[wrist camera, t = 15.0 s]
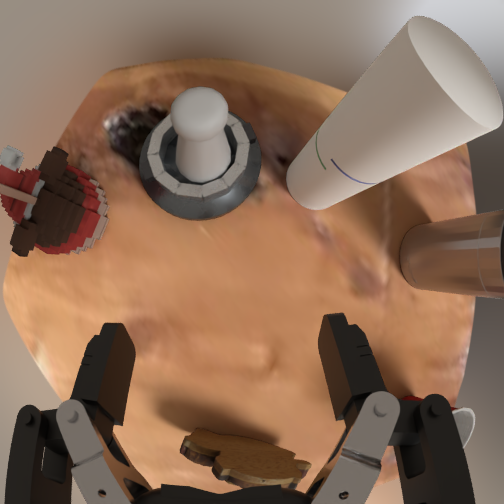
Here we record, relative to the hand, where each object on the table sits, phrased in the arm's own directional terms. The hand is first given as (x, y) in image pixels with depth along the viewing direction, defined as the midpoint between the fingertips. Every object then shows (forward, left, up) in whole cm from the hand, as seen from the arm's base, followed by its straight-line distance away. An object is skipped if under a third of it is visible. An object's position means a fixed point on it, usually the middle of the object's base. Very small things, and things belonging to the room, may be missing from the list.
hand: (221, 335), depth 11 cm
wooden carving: (+6, +21, -21) cm, 30 cm away
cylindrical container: (-15, -7, -21) cm, 27 cm away
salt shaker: (-4, -13, -20) cm, 24 cm away
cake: (+13, -14, -21) cm, 29 cm away
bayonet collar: (-3, -14, -21) cm, 26 cm away
